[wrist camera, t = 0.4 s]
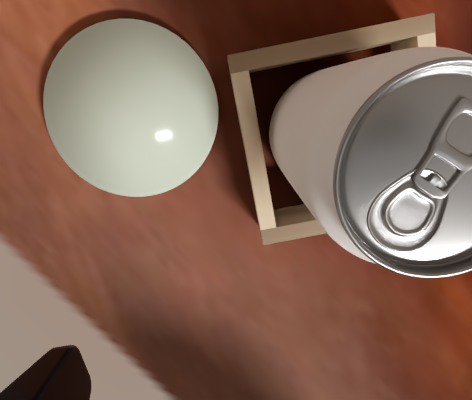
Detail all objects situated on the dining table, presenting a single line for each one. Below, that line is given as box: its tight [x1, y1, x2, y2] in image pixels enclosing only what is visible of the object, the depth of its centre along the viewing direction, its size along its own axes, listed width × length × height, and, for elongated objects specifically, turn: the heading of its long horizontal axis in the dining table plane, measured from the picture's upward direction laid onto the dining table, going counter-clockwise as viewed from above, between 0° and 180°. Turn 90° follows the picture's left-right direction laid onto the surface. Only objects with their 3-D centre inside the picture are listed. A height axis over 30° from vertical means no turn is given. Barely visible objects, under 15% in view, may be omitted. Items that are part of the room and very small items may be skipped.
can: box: [269, 47, 472, 278], centre depth 15 cm, size 6×6×12 cm
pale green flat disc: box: [43, 19, 219, 197], centre depth 20 cm, size 9×9×1 cm
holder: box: [228, 13, 436, 245], centre depth 20 cm, size 9×9×3 cm
